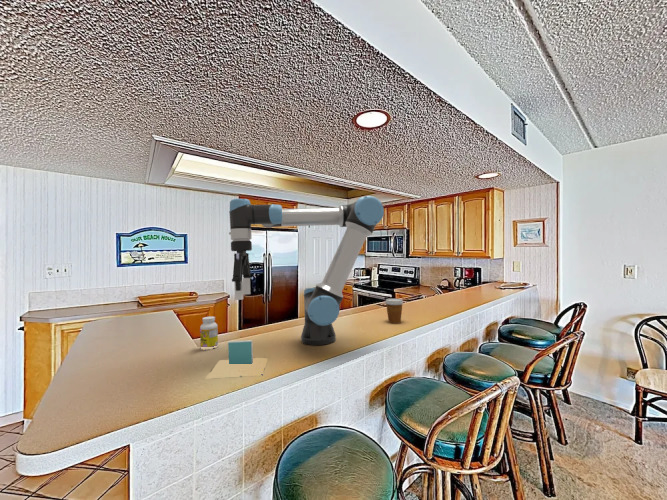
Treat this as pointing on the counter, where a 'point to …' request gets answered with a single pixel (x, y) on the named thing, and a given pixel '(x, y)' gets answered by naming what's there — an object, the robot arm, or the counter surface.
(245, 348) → the tile
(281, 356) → the counter surface
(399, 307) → the disposable coffee cup
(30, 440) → the counter surface
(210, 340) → the supplement bottle
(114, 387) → the counter surface
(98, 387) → the counter surface
